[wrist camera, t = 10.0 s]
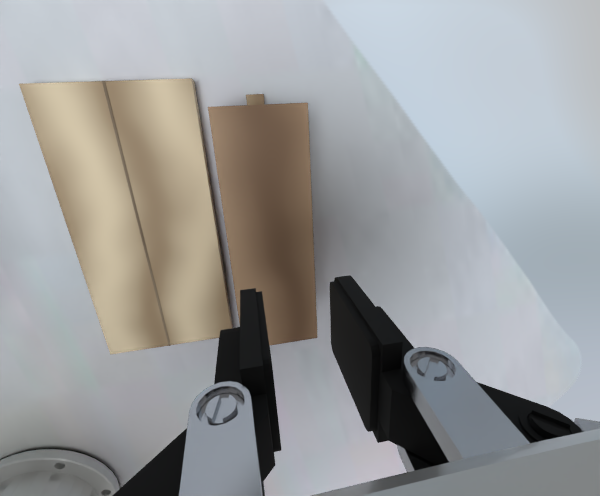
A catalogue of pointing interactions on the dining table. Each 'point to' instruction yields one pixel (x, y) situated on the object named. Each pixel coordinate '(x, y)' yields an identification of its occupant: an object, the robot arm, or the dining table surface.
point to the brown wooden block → (269, 211)
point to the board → (137, 205)
